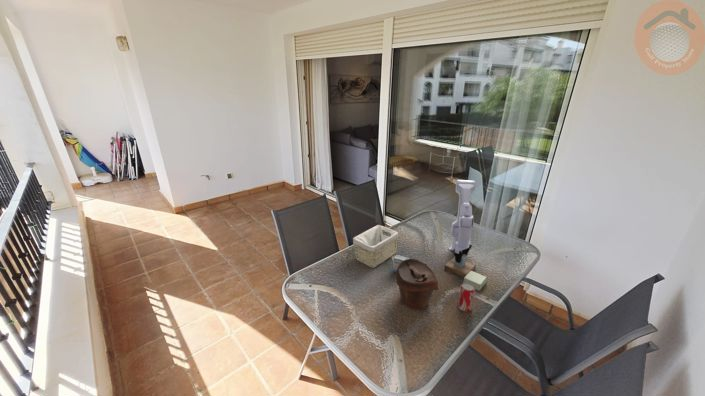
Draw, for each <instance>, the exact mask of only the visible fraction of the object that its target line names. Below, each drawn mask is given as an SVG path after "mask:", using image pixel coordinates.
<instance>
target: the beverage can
mask: <svg viewBox="0 0 705 396" xmlns="http://www.w3.org/2000/svg"><path fill="white" fill-rule="evenodd" d="M475 295H476V289H474V286H473V285H472V284H470V283H464V282H463V283H462V284H461V285H460V287H459V293H458V299H457V300H458V301H457V307H458V309H459V310H460V311H463V312H466V313H470V312H472V310H473V307H474V300H475V297H476V296H475Z"/></svg>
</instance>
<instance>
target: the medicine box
mask: <svg viewBox="0 0 705 396" xmlns="http://www.w3.org/2000/svg"><path fill="white" fill-rule="evenodd" d="M406 259H411V257H407V256H404V255H399V254H395V256H394V258H393V269H392V272H393V273H396V270H397V268H398V266H399V264H400V263H401V262H402V261H404V260H406Z"/></svg>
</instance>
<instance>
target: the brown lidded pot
mask: <svg viewBox="0 0 705 396" xmlns="http://www.w3.org/2000/svg"><path fill="white" fill-rule="evenodd" d="M394 278H396V281H395V283H396V285H397V286H398V289H399V294H400V300H401V303H402V304H403V305H404V306H405V307H407V308H409V309H411V310H412V309H413V310H418V311H419V310H423V309H425V308H427V306H428V305H429V303H430V300H431V297H432V294H433V292H434V291H438V290H439V281H438V279H437V277H436V275H435V272H434V271H433V270H432V269H431V268H430V267H429V265H427V264H426V263H424V262H423V261H420V260H419V259H416V258H415V259H414V258H410V259H406V260H404V261H402V262H401V263H400V264H399V266H398V268H397V270H396V272H395V275H394Z"/></svg>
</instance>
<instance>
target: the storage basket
mask: <svg viewBox="0 0 705 396" xmlns="http://www.w3.org/2000/svg"><path fill="white" fill-rule="evenodd" d="M384 232H385V233H387V234H389V235H390V236H389V235H385V234H384ZM398 238H399V232H398V231H396V230H394V229H391V228H389V227H386V226H383V225H381V224H377V225H375V226H373V227H371V228H369V229H367V230H365V231H362V232H361V233H360V234H358V235H355V236H354V237H353V238H352V241H353V242H352V243H353V247H354V253H355V259H356V260H357V261H358V262H360V263H362V264H364V265H366V266H368V267H370V268H373V269H375V268H376V267H378V266H379V265H380V264H382V263H384V262H385V261H386V260H388V259H389V258H391V257H393V256H394V255H396V253H397V245H398V240H399V239H398Z"/></svg>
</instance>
